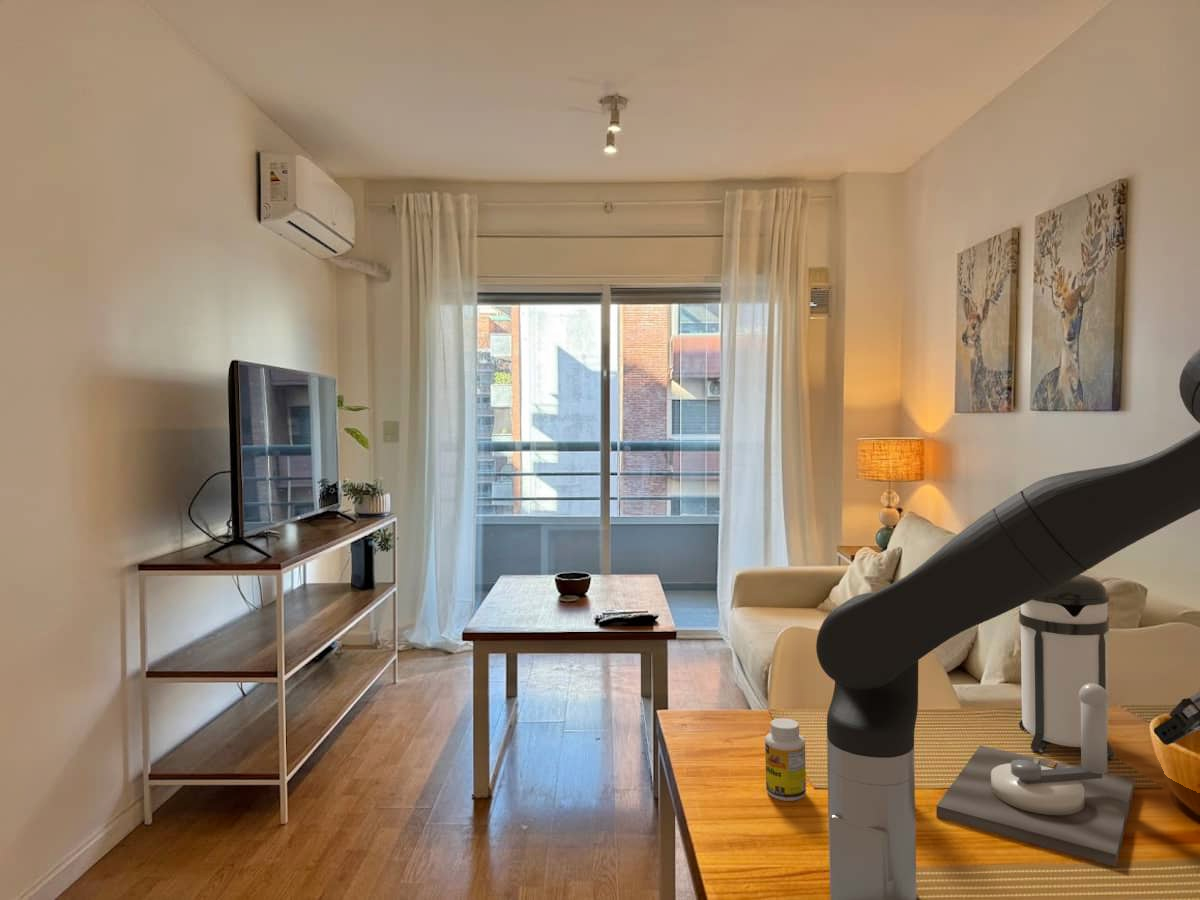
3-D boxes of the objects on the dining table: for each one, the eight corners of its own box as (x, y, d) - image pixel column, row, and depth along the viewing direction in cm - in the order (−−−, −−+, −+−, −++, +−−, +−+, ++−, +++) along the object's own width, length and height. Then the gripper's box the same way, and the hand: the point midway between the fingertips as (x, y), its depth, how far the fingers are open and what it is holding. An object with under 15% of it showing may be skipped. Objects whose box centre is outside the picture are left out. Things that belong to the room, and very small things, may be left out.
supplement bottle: (759, 788, 112) (757, 718, 112) (792, 782, 114) (791, 713, 114) (778, 805, 107) (777, 733, 107) (813, 799, 109) (812, 727, 108)
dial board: (1116, 867, 90) (1116, 852, 90) (936, 816, 103) (936, 804, 103) (1134, 789, 109) (1133, 777, 109) (980, 754, 122) (980, 744, 121)
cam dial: (1025, 818, 99) (1023, 704, 98) (974, 779, 110) (973, 677, 109) (1138, 808, 100) (1137, 697, 100) (1076, 771, 111) (1075, 670, 111)
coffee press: (1146, 751, 121) (1145, 561, 121) (1075, 770, 115) (1073, 571, 115) (1046, 714, 137) (1044, 547, 137) (979, 729, 132) (977, 554, 131)
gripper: (1280, 704, 81) (1155, 776, 92) (1339, 685, 87) (1214, 755, 98) (1220, 642, 86) (1108, 718, 97) (1280, 628, 92) (1168, 701, 103)
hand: (1162, 736), depth 98 cm, fingers closed
